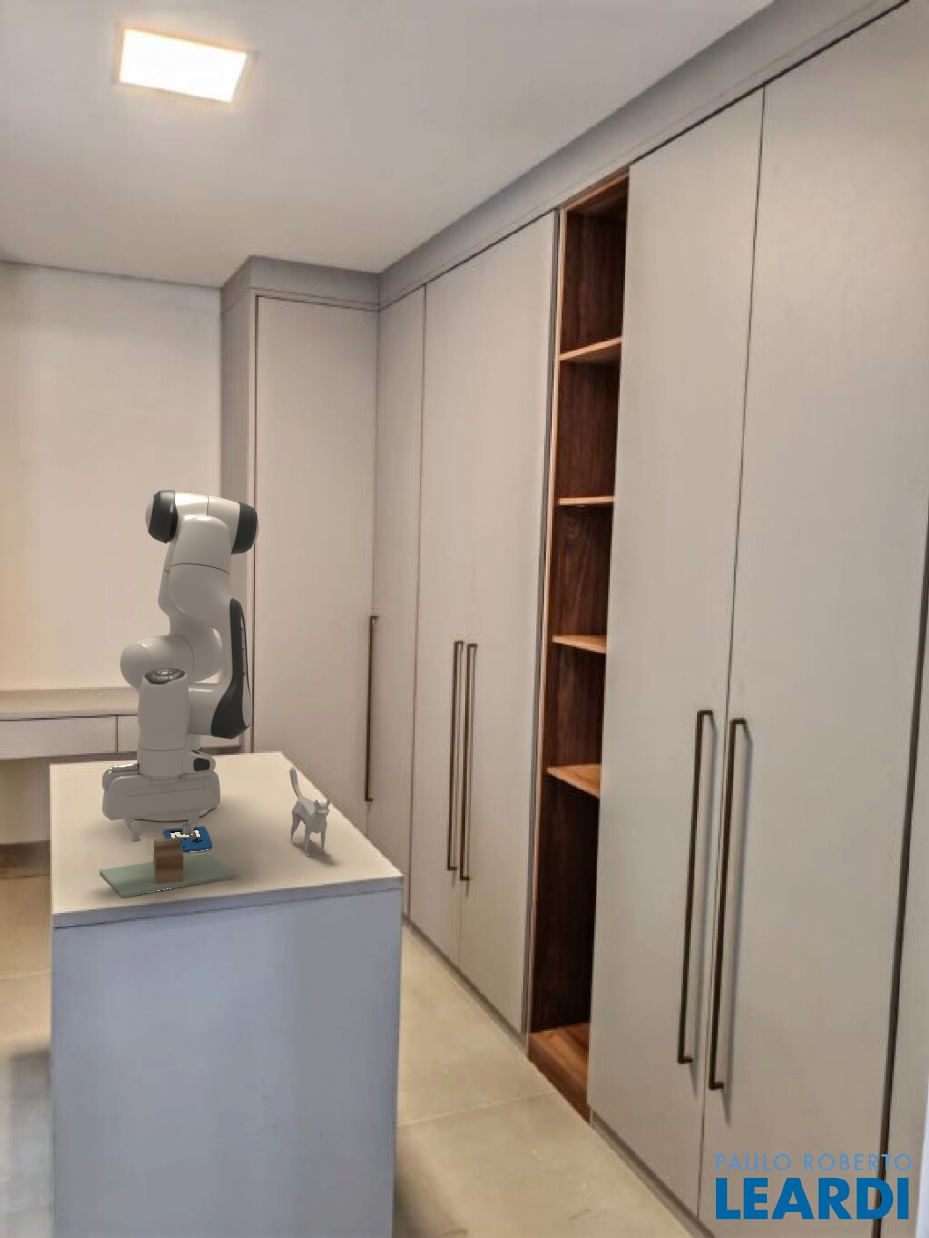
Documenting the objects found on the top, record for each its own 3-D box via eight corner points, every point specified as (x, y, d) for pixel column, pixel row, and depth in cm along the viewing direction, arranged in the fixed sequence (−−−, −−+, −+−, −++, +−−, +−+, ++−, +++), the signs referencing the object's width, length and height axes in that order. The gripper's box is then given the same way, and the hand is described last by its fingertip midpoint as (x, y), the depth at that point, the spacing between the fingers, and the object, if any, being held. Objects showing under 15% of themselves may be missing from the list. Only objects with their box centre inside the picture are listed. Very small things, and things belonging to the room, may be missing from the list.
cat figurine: (313, 863, 189) (314, 789, 188) (280, 834, 207) (280, 766, 205) (335, 860, 191) (336, 787, 190) (300, 831, 209) (301, 764, 207)
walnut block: (183, 881, 176) (183, 855, 175) (156, 883, 174) (156, 857, 174) (179, 861, 186) (179, 836, 186) (153, 863, 185) (153, 838, 184)
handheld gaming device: (169, 849, 192) (163, 827, 206) (169, 855, 192) (163, 833, 206) (214, 846, 195) (204, 824, 209) (214, 851, 195) (204, 829, 209)
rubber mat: (99, 873, 180) (99, 870, 180) (207, 855, 192) (207, 852, 192) (122, 897, 169) (122, 894, 169) (236, 877, 180) (236, 874, 180)
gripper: (107, 771, 170) (106, 850, 171) (224, 760, 181) (222, 834, 183) (98, 762, 175) (97, 840, 177) (212, 752, 187) (211, 825, 188)
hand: (161, 837), depth 180 cm, fingers open, 8 cm apart
